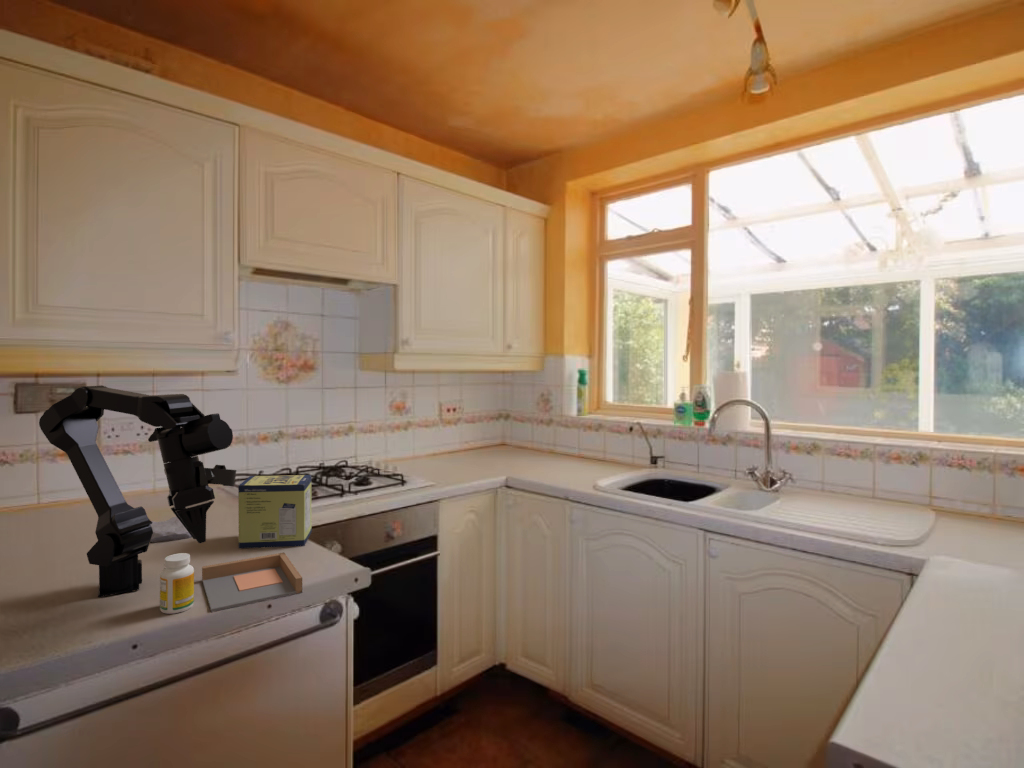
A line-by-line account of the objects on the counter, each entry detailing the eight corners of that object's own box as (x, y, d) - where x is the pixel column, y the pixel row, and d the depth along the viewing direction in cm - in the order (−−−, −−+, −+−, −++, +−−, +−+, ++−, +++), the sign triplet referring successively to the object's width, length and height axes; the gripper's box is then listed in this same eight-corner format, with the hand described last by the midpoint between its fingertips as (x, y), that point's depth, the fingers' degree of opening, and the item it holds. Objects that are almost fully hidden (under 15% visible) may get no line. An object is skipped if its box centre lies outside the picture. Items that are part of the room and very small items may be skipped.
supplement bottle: (154, 614, 99) (153, 562, 99) (169, 601, 104) (169, 551, 104) (185, 614, 100) (185, 562, 99) (199, 600, 105) (199, 551, 104)
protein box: (249, 534, 143) (249, 475, 142) (312, 532, 146) (312, 474, 145) (236, 549, 132) (236, 485, 131) (305, 546, 135) (305, 483, 134)
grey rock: (204, 542, 142) (193, 525, 149) (205, 525, 141) (193, 509, 147) (150, 554, 133) (141, 536, 140) (150, 536, 132) (141, 519, 139)
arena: (211, 611, 101) (211, 595, 101) (202, 580, 114) (202, 566, 114) (302, 592, 110) (302, 577, 110) (284, 565, 123) (284, 552, 123)
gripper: (235, 446, 101) (254, 529, 101) (220, 451, 116) (237, 523, 116) (164, 462, 95) (185, 551, 95) (159, 465, 110) (177, 542, 110)
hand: (199, 540), depth 104 cm, fingers open, 9 cm apart
